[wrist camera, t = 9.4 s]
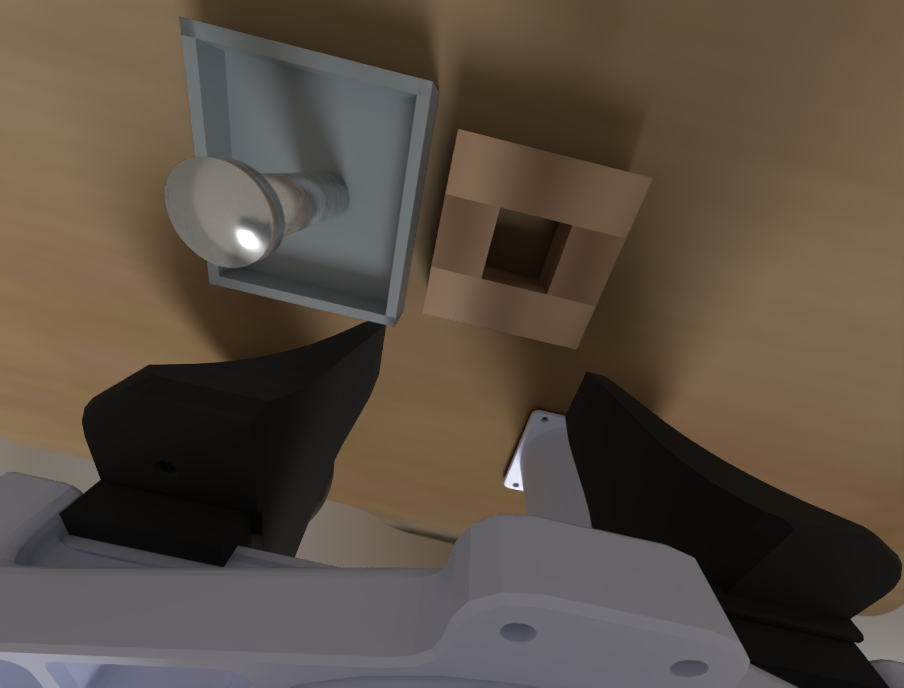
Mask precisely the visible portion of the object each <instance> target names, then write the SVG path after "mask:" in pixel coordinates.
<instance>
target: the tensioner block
mask: <svg viewBox="0 0 904 688" xmlns="http://www.w3.org/2000/svg"><path fill="white" fill-rule="evenodd" d="M652 180H653V178H650V177H646V176H643V175H639V174H635V173H631V172H627V171H623V170H619V169H615V168H611V167H607V166H603V165H599V164H595V163H591V162H587V161H583V160H579V159H575V158H571V157H568V156H564V155H560V154H556V153H552V152H548V151H544V150H540V149H536V148H532V147H528V146H524V145H520V144H516V143H512V142H508V141H504V140H500V139H496V138H493V137H489V136H485V135H481V134H477V133H473V132H469V131H465V130H461V129H458V132H457V137H456V142H455V147H454V152H453V157H452V163H451V168H450V173H449V178H448V183H447V188H446V193H445V198H444V204H443V209H442V214H441V219H440V224H439V229H438V234H437V239H436V245H435V250H434V255H433V260H432V265H431V270H430V275H429V281H428V286H427V291H426V296H425V301H424V306H423V311H422V313H423V314H428V315H432V316H436V317H440V318H445V319H449V320H453V321H457V322H462V323H466V324H470V325H474V326H478V327H483V328H487V329H491V330H495V331H500V332H504V333H508V334H512V335H517V336H521V337H525V338H529V339H533V340H538V341H542V342H546V343H550V344H555V345H559V346H563V347H567V348H572V349H576V350H577V348H578V346H579V343H580V341H581V339H582V337H583V334H584V332H585V330H586V328H587V326H588V323H589V321H590V319H591V317H592V314H593V312H594V310H595V308H596V305H597V303H598V301H599V299H600V296H601V294H602V292H603V290H604V287H605V285H606V283H607V281H608V279H609V276H610V274H611V272H612V270H613V267H614V265H615V263H616V261H617V258H618V256H619V254H620V252H621V249H622V247H623V245H624V243H625V240H626V238H627V236H628V234H629V232H630V229H631V227H632V225H633V223H634V220H635V218H636V216H637V214H638V211H639V209H640V207H641V205H642V202H643V200H644V198H645V196H646V193H647V191H648V189H649V187H650V184H651V182H652ZM500 207H501V208H505V209H509V210H513V211H517V212H521V213H525V214H529V215H533V216H537V217H541V218H545V219H549V220H553V221H557V222H558V225H557V228H556V231H555V234H554V237H553V240H552V242H551V245H550V248H549V251H548V254H547V257H546V260H545V262H544V265H543V268H542V271H541V274H540V277H539V278H535V277H531V276H526V275H522V274H518V273H514V272H510V271H506V270H502V269H497V268H493V267H489V266H485V263H486V259H487V255H488V251H489V248H490V244H491V240H492V236H493V233H494V229H495V225H496V222H497V218H498V214H499V210H500Z"/></svg>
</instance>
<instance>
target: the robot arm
mask: <svg viewBox="0 0 904 688" xmlns="http://www.w3.org/2000/svg"><path fill="white" fill-rule="evenodd" d="M385 329H386V325H384V324H380V323H376V322H371V321H367V322H364V323H362V324H360V325H357V326H355V327H353V328H351V329H348V330H346V331H344V332H341V333H339V334H337V335H335V336H332V337H329V338H327V339H324V340H321V341H319V342H316V343H313V344H310V345H307V346H304V347H301V348H298V349H294V350H290V351H286V352H282V353H278V354H273V355H267V356H261V357H256V358H250V359H244V360H235V361H227V362H215V363H201V364H168V365H148V366H146V367H144V368H143V369H141V370H139V371H138V372H136V373H134V374H132V375H131V376H129V377H127V378H126V379H124V380H122V381H121V382H119V383H117V384H116V385H114V386H112V387H110V388H109V389H107V390H105V391H104V392H102V393H100V394H99V395H97V396H95V397H94V398H92V399H91V401H90V402H89V403H88V404H87V405H86V407H85V409H84V414H83V418H82V425H83V430H84V435H85V438H86V441H87V444H88V446H89V449H90V452H91V455H92V457H93V460H94V463H95V465H96V468H97V471H98V473H99V476H100V479H101V480H100V481H99V482H97V483H96V484H95V485H94V486H93V487H91V488H90V489H89V490H88V491H86V492H85V493H84V494H83V493H82V492H81V491H80V490H78V489H77V488H75V487H74V486H72V485H69V484H67V483H64V482H59V481H54V480H49V479H45V478H40V477H36V476H31V475H26V474H22V473H17V472H7V473H5V474H4V475H2V476H0V688H904V663H901V662H897V661H892V660H883V659H880V660H872V661H868V660H867V658H866V657H865V656H864V654H863V653H862V652H861V651H860V649H859V648H858V647H857V646H856V644H855V643H854V642H857V643H860V642H862V641H863V640H864V638H863V634H862V633H861V632H860V631H859V629H858V628H857V627H856V626H855V625H854V623H853V622H852V621H851V618H852V617H854V616H855V615H857V614H858V613H860V612H861V611H863V610H864V609H866V608H867V607H869V606H870V605H872V604H873V603H875V602H876V601H878V600H879V599H881V598H882V597H884V596H885V595H886V594H887V593H889V592H890V591H891V590H892V589H893V588H894V587H895V586H896V584H897V583H898V581H899V580H900V578H901V571H902V563H901V561H900V559H899V557H898V555H897V554H896V553H895V552H894V551H893V550H892V549H890V548H889V547H888V546H887V545H886V544H885V543H884V542H883V541H882V540H881V539H880V538H879V537H878V536H877V535H875V534H874V533H873V532H871V531H870V530H868V529H867V528H865V527H863V526H861V525H859V524H856V523H854V522H852V521H849V520H847V519H845V518H842V517H840V516H837V515H835V514H833V513H830V512H828V511H826V510H823V509H821V508H819V507H816V506H814V505H811V504H809V503H807V502H804V501H802V500H800V499H798V498H796V497H794V496H792V495H790V494H787V493H785V492H783V491H781V490H779V489H777V488H775V487H773V486H771V485H769V484H767V483H765V482H763V481H761V480H759V479H757V478H755V477H753V476H751V475H749V474H747V473H746V472H744V471H742V470H740V469H738V468H736V467H735V466H733V465H731V464H729V463H727V462H726V461H724V460H722V459H720V458H719V457H717V456H715V455H714V454H712V453H710V452H709V451H707V450H706V449H704V448H702V447H701V446H699V445H698V444H696V443H695V442H693V441H691V440H690V439H688V438H687V437H685V436H684V435H682V434H681V433H680V432H678V431H677V430H675V429H674V428H673V427H671V426H670V425H668V424H667V423H666V422H664V421H663V420H662V419H660V418H659V417H658V416H656V415H655V414H654V413H652V412H651V411H650V410H649V409H647V408H646V407H645V406H643V405H642V404H641V403H640V402H638V401H637V400H636V399H635V398H633V397H632V396H631V395H630V394H628V393H627V392H626V391H624V390H623V389H622V388H621V387H619V386H618V385H617V384H615V383H614V382H612V381H611V380H609V379H608V378H606V377H604V376H602V375H597V374H593V373H589V372H586V374H585V376H584V379H583V381H582V383H581V385H580V387H579V389H578V391H577V393H576V395H575V397H574V399H573V401H572V404H571V406H570V408H569V410H568V412H567V414H566V416H563V415H559V414H555V413H550V412H546V411H542V410H535V411H533V412H532V413H531V415H530V418H529V420H528V422H527V425H526V427H525V430H524V432H523V434H522V437H521V439H520V442H519V444H518V446H517V449H516V451H515V454H514V456H513V458H512V461H511V463H510V466H509V468H508V470H507V473H506V475H505V478H504V485H505V486H506V487H508V488H513V489H517V490H522V491H523V494H524V502H525V510H526V515H525V514H498V515H495V516H492V517H489V518H486V519H483V520H480V521H477V522H475V523H473V524H471V525H470V526H469V528H468V529H467V530H466V531H465V532H464V533H463V534H462V535H461V537H460V538H459V539H458V540H457V541H456V543H455V546H454V548H453V551H452V554H451V557H450V560H449V562H448V563H447V565H446V567H445V568H341V567H336V566H332V565H327V564H322V563H317V562H313V561H308V560H303V559H298V558H295V555H296V553H297V550H298V548H299V545H300V542H301V540H302V537H303V535H304V532H305V530H306V527H307V525H308V522H309V520H310V518H311V515H312V513H313V510H314V508H315V505H316V503H317V500H318V498H319V496H320V493H321V491H322V489H323V486H324V484H325V481H326V479H327V477H328V475H329V472H330V470H331V468H332V465H333V463H334V461H335V459H336V456H337V454H338V452H339V450H340V448H341V446H342V444H343V443H344V441H345V439H346V437H347V436H348V434H349V432H350V431H351V429H352V427H353V425H354V424H355V422H356V420H357V418H358V417H359V415H360V413H361V411H362V410H363V408H364V406H365V404H366V403H367V401H368V399H369V397H370V395H371V393H372V390H373V388H374V385H375V383H376V380H377V378H378V375H379V370H380V363H381V356H382V349H383V342H384V336H385ZM543 417H547V419H542V418H543Z"/></svg>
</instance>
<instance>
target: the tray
mask: <svg viewBox="0 0 904 688" xmlns="http://www.w3.org/2000/svg"><path fill="white" fill-rule="evenodd" d="M179 18H180V26H181V35H182V44H183V53H184V62H185V71H186V79H187V88H188V97H189V106H190V115H191V124H192V133H193V141H194V150H195V157H197V156H199V157H227V158H233V159H236V160H239V161H242V162H244V163H246V164H248V165H249V166H251V167H253V168H254V169H255V170H257V171H258V172H259V173H294V172H330V173H333V174H335V175H337V176H338V177H339V178H341V179H342V181H343V182H344V183H345V185H346V187H347V189H348V192H349V197H350V202H349V206H348V209H347V211H346V212H345V213H344V214H343V215H342V216H340V217H338V218H335V219H332V220H330V221H327V222H324V223H321V224H318V225H315V226H312V227H309V228H306V229H303V230H300V231H298V232H295V233H292V234H289V235H286V236H283V239H282V242H281V244H280V245H279V247H278V248H277V250H276V251H275V252H274V253H273V254H271V255H270V256H268V257H267V258H264V259H262V260H259V261H257V262H255V263H252V264H250V265H247V266H244V267H240V268H228V267H222V266H219V265H215V264H213V263H211V262H209V261H207V265H208V274H209V283H210V284H213V285H217V286H221V287H226V288H230V289H234V290H238V291H243V292H247V293H251V294H255V295H260V296H264V297H268V298H273V299H277V300H281V301H285V302H290V303H294V304H298V305H302V306H307V307H311V308H315V309H319V310H324V311H328V312H332V313H336V314H341V315H345V316H349V317H354V318H358V319H362V320H366V321H371V322H376V323H380V324H384V325H388V326H392V327H395V325H396V323H397V321H398V319H399V318H400V316H401V314H402V312H403V308H404V302H405V296H406V290H407V284H408V278H409V272H410V266H411V260H412V254H413V248H414V242H415V236H416V230H417V224H418V218H419V212H420V206H421V200H422V194H423V188H424V182H425V176H426V170H427V164H428V158H429V152H430V146H431V140H432V134H433V128H434V122H435V116H436V110H437V104H438V98H439V91H438V90H437V88H436V86H435V84H434V83H433V81H429V80H425V79H421V78H417V77H413V76H409V75H405V74H401V73H398V72H394V71H390V70H386V69H382V68H378V67H374V66H370V65H366V64H362V63H359V62H355V61H351V60H347V59H343V58H339V57H335V56H331V55H327V54H324V53H320V52H316V51H312V50H308V49H304V48H300V47H296V46H292V45H289V44H285V43H281V42H277V41H273V40H269V39H265V38H261V37H257V36H254V35H250V34H246V33H242V32H238V31H234V30H230V29H226V28H222V27H218V26H215V25H211V24H207V23H203V22H199V21H195V20H191V19H187V18H183V17H180V16H179Z"/></svg>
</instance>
